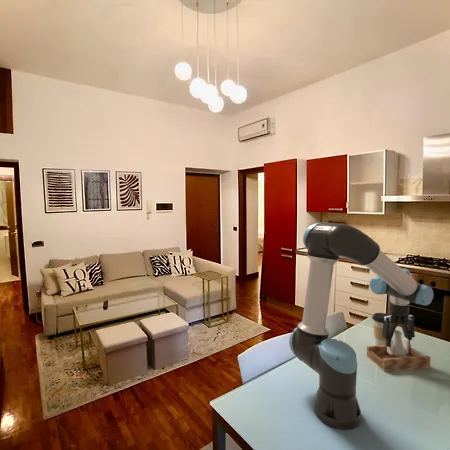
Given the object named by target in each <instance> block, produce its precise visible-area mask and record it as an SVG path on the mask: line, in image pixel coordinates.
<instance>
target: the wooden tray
mask: <svg viewBox="0 0 450 450" xmlns="http://www.w3.org/2000/svg"><path fill="white" fill-rule="evenodd" d="M366 358H368V359H369V360H370V361H371V362H372V363H374V364H375V365H376V366H377V367H378V368H379V369H380V370H382V371H383V372H395V371H396V372H397V371H410V370H412V371H413V370H422V369H423V370H426V369H431V356H429V355H423V354H421V353H420V352H418V351H416V350H415V349H414V348H412V344H411V343H410V346H409V349H408V354H406V356H396V355H390V354H389V353H388V352H387V346H386V345H367V346H366Z"/></svg>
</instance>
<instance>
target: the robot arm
mask: <svg viewBox="0 0 450 450" xmlns="http://www.w3.org/2000/svg"><path fill="white" fill-rule="evenodd" d="M303 233H304V234H303V237H302V243H303V245H304V247H305V248H306V250H307V255H306V256H307V257H308V259H309V261H310V263H309V268H308V269H309V270H308V276H307V285H306V289H305V291H306V292H305V297H304V304H303V305H304V306H303V314H302V320H301V321H300V322H299V323H298V324H297V327H295V328H294V329H293V331H292V332H291V333H290V335H289V342H288V343H289V348H290V351H291V352H292V354H293V355H294V356H295V357H296V358H297V360H299V361H300V362H302V363H304V364H305V365H306V366H308V367H309V368H310V369H312V370H313V371H314V372H315V373H317V374H318V375H319V378H318V382H319V383H318V385H319V386H318V389H317V391H316V394H315V396H314V399H313V407H312V408H313V412H314V414H315V416H316V417H317V418H318V419H319V420H320V421H322V422H323V423H324V424H326V425H328V426H329V427H333V428H335V429H339V430H351V429H355V428H357V427H358V426H359V425H360V423H361V420H362V413H361V412H362V411H361V407H360V404H359V401H358V398H357V375H358V372H357V371H358V369H357V368H358V361H357V360H358V359H357V353H356V351H355V350H354V348H353V347H352V346H351V345H350V344H348V343H347V342H344V341H343V340H338V339H336V338H329V337H330V334H329V333H330V331H329V329H328V328H327V326H326V325H327V318H328V310H329V304H330V297H331V288H332V283H333V282H332V281H333V273H334V267H335V266H334V265H335V264H336V263H338V262H339V261H340V257H341V258H345V259H348V260H351V261H353V262H355V263H356V264H357V265H359V266H365V268H367V269H368V270H370V271H371V272H372V273H374V275H375V276H374V277H372V278H370V280H369V288H370V290H371V292H373V294H376V295H378V296H379V295H389V314H388V315H389V316H383V319H384V323H383V331H382V337H383V338H385V339H386V346H387V352H388V353H389V354H390V355H393V338H394V334H395V333H394V332H395V330H396V328H397V327H398V325H401V328H402V334H403V337H402V343H403V346H404V349H405V352H406V354H408V349H409V346H410V344H411V341H412V340H413V338H416V337H415V335H416V334H415V318H416V316H414V315H412V314H410V305H409V304H410V303H413V304H416V305H421V306H428V305H430V304H431V303H432V300H433V299H434V290H433V289H432V287H430V286H428V285H425V284H421V283H419V282H417V281H416V280H415V279H414V278H413V277H411V271H410V270H409V269H407V268H401V267H400V266H399V265H398V264H397V263H396V262H394V260H392V259H391V258H390V256H389V257H388V255H386V254H385V252H383V251H381V247H380V245H379V243H377V242H376V241H375V240H374V239H373V238H372V237H370V236H369V235H368V234H366V233H365V232H363V230H360V229H358V228H356V227H355V226H352V225H349V224H346V223H334V222H325V221H324V222H323V221H322V222H314V223H312V224H310V225H309V226H307V228H306V230H305V231H304V232H303ZM390 319H391V320H390Z"/></svg>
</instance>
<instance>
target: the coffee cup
mask: <svg viewBox="0 0 450 450" xmlns="http://www.w3.org/2000/svg"><path fill="white" fill-rule="evenodd" d="M383 316H389V314H387V313H386V312H385V313H384V312H375V313H373V315H372V316H371V319H372V320H373V323H372V325H373V336H374V343H375V346H377V345H386V339H385V338H383V337H382V331H383V323H384V319H383ZM390 320H391V319H390Z"/></svg>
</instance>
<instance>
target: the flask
mask: <svg viewBox="0 0 450 450" xmlns="http://www.w3.org/2000/svg"><path fill="white" fill-rule="evenodd" d="M402 334H403V331H401V330H399V329H397V330H396V329H395V332H394V334H393V338H392V340H393V355H396V356H406V352H405V349H404V346H403V339H402Z"/></svg>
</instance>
